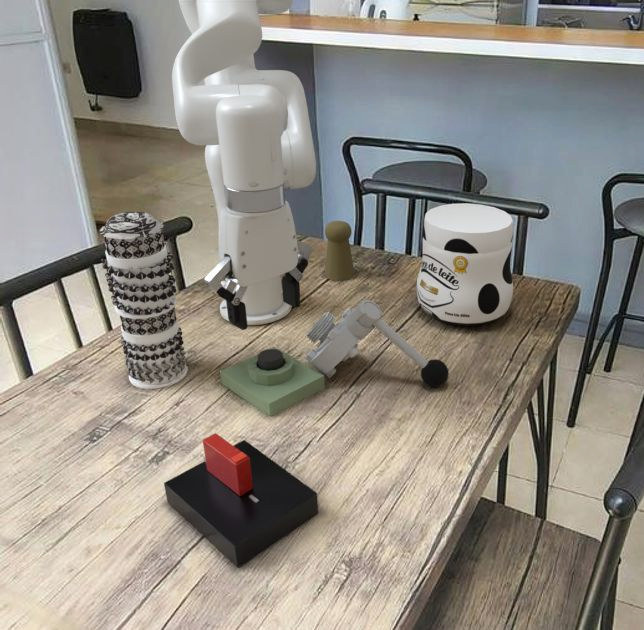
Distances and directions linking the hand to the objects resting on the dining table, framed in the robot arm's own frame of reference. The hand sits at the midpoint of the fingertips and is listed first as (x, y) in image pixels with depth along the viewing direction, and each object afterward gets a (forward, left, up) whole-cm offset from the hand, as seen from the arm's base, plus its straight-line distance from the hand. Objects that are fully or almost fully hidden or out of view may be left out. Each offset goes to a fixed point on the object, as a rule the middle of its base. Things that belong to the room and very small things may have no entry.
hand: (266, 314), depth 96 cm
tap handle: (+16, -18, -9) cm, 26 cm away
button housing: (0, 0, -12) cm, 12 cm away
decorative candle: (-15, -10, -12) cm, 22 cm away
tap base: (+18, -18, -12) cm, 28 cm away
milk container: (+5, +39, -12) cm, 41 cm away
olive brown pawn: (-23, +34, -12) cm, 43 cm away
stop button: (0, 0, -8) cm, 8 cm away
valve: (+9, +13, -12) cm, 20 cm away
